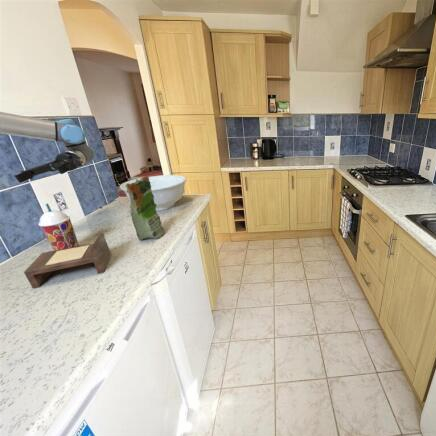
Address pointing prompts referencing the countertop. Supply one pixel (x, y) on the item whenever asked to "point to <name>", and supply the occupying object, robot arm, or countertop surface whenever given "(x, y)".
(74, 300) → the countertop surface
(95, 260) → the shelf
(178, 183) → the bowl
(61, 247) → the smoothie
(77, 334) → the countertop surface
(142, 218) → the pouch
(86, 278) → the countertop surface
